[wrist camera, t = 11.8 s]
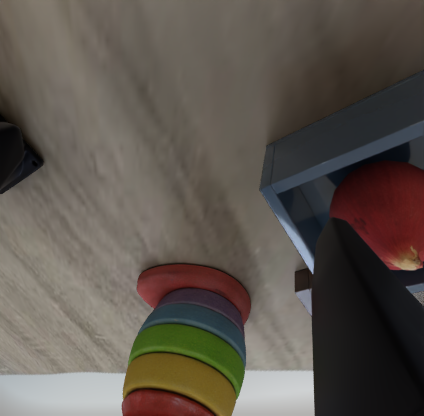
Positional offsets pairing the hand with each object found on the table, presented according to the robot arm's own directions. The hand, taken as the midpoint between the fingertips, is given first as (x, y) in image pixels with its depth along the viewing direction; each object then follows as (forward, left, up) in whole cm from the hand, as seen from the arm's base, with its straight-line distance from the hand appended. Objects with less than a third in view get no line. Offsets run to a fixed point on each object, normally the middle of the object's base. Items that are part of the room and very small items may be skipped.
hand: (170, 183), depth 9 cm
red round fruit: (+4, -10, -13) cm, 17 cm away
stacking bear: (-14, -17, -13) cm, 25 cm away
